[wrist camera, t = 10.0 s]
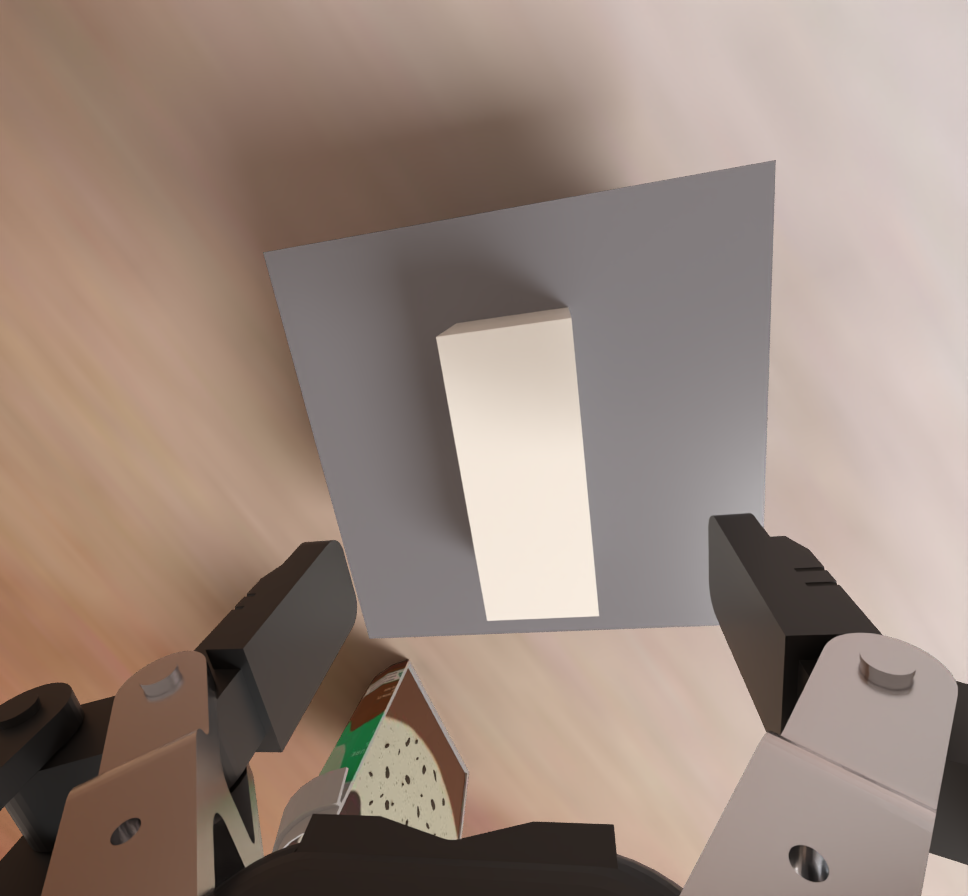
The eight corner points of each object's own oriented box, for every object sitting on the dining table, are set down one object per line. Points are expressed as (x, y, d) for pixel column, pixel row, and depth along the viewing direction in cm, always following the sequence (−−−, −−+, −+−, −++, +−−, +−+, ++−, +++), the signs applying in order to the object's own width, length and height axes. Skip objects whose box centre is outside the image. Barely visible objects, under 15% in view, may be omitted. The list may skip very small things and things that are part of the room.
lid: (763, 165, 14) (832, 134, 11) (752, 609, 19) (797, 688, 16) (276, 252, 17) (202, 251, 13) (375, 625, 22) (341, 696, 18)
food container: (309, 661, 31) (205, 834, 22) (398, 639, 30) (327, 814, 20) (394, 802, 35) (335, 1003, 25) (477, 788, 33) (448, 996, 24)
